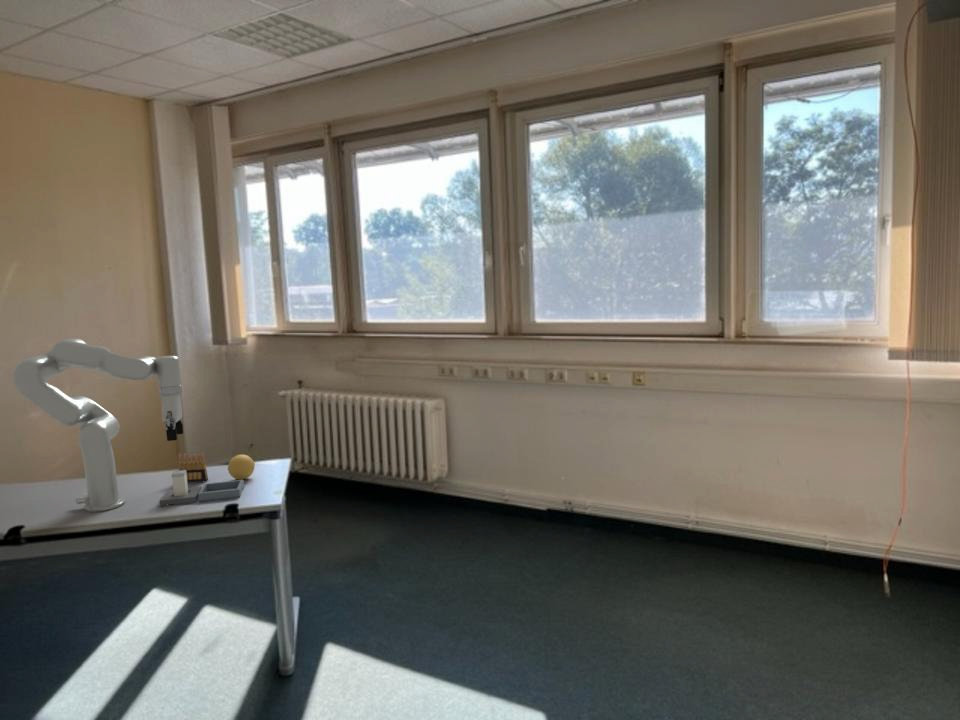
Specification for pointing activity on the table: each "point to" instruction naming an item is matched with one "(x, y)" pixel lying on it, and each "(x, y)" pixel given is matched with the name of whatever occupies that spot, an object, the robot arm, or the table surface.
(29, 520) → the table surface
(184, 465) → the ammunition clip
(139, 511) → the table surface
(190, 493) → the frame
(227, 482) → the parts tray
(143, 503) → the table surface
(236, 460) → the stress ball
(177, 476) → the fuse
